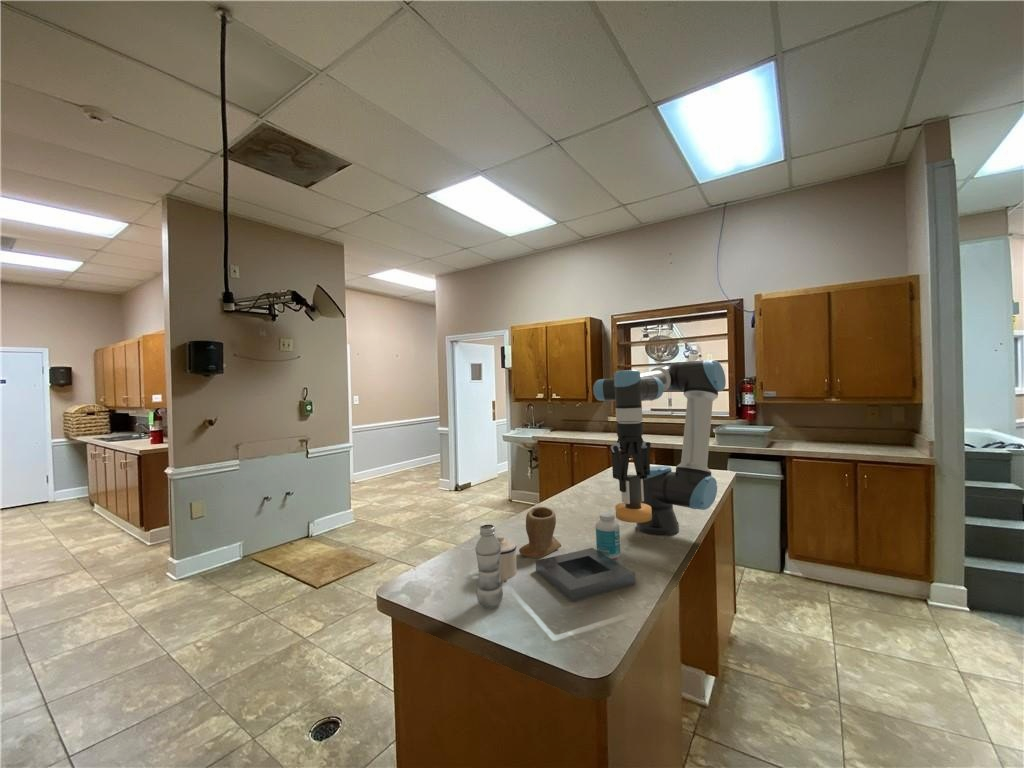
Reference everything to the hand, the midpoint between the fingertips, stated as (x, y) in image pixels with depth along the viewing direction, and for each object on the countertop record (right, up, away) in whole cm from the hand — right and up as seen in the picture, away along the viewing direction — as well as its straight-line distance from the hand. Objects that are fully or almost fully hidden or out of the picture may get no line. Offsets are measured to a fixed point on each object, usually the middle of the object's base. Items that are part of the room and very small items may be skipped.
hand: (632, 501), depth 121 cm
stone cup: (-25, -22, +16) cm, 37 cm away
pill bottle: (-5, -21, +10) cm, 24 cm away
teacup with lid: (-40, -22, +1) cm, 46 cm away
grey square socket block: (-15, -21, -5) cm, 27 cm away
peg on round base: (0, -5, 0) cm, 5 cm away
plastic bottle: (-41, -22, -16) cm, 49 cm away
